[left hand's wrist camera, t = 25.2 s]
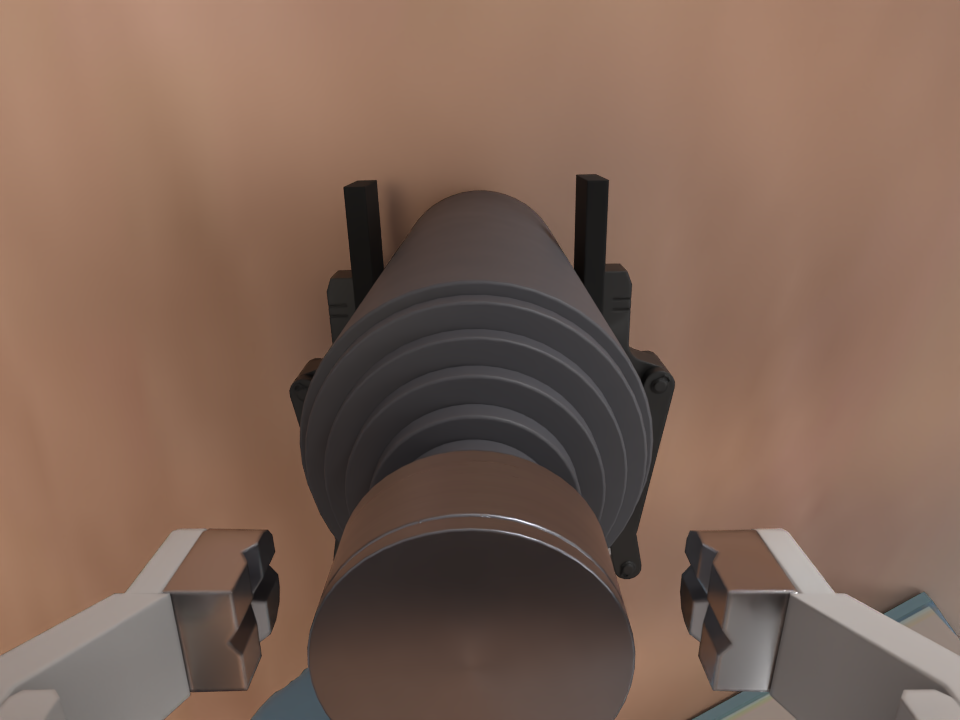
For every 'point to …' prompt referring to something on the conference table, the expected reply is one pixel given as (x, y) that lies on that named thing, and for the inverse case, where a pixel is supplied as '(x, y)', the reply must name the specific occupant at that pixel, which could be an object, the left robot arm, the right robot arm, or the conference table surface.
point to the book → (761, 716)
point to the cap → (472, 600)
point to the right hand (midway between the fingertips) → (476, 181)
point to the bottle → (478, 367)
